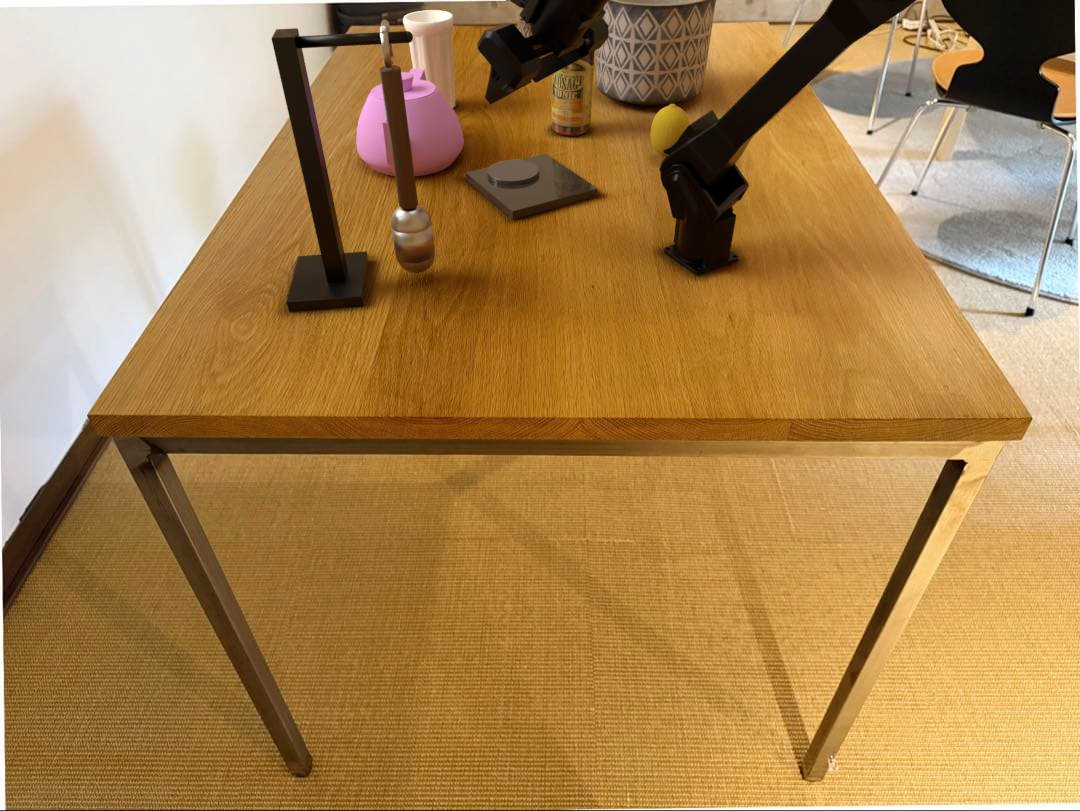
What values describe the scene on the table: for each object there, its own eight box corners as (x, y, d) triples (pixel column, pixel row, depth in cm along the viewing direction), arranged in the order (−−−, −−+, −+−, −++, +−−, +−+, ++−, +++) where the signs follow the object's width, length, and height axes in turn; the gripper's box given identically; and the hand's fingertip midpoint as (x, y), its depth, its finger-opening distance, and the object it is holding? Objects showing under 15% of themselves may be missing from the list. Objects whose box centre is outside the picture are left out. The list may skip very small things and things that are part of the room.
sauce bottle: (544, 134, 119) (543, -7, 106) (562, 121, 124) (562, -16, 111) (582, 141, 117) (585, -2, 104) (598, 127, 121) (603, -12, 108)
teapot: (378, 130, 121) (365, 51, 114) (474, 131, 121) (468, 51, 113) (341, 190, 105) (324, 102, 97) (453, 192, 104) (444, 102, 96)
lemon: (685, 168, 109) (691, 112, 103) (646, 165, 110) (651, 109, 104) (687, 153, 113) (693, 98, 108) (650, 150, 114) (654, 96, 108)
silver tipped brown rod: (436, 259, 88) (408, 16, 71) (437, 279, 85) (407, 29, 68) (398, 262, 88) (361, 18, 71) (397, 282, 84) (358, 31, 68)
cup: (404, 106, 130) (393, 15, 120) (445, 96, 133) (436, 7, 124) (429, 120, 125) (419, 26, 115) (470, 108, 128) (463, 17, 119)
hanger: (440, 254, 91) (412, 13, 74) (441, 300, 83) (411, 42, 66) (300, 265, 90) (238, 21, 72) (288, 311, 82) (217, 51, 65)
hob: (597, 196, 102) (598, 183, 101) (512, 220, 97) (512, 207, 96) (545, 160, 111) (545, 148, 110) (465, 180, 107) (464, 168, 106)
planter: (708, 81, 137) (721, -21, 127) (698, 118, 123) (712, 7, 113) (604, 74, 141) (608, -26, 130) (583, 110, 127) (585, 1, 116)
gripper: (581, -86, 85) (514, 19, 97) (478, -59, 73) (416, 57, 86) (644, -6, 86) (569, 88, 98) (551, 33, 74) (480, 134, 86)
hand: (511, 89), depth 92 cm, fingers open, 9 cm apart
